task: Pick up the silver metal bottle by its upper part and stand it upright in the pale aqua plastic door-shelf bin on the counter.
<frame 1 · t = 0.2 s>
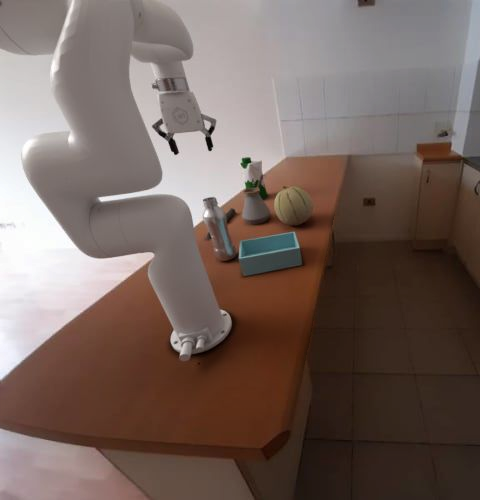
hand: (193, 152, 84), 31 cm above the worktop, tool pointing down, fingers open, 9 cm apart
shelf bin: (272, 260, 86), on the worktop
coffee pot: (261, 216, 119), on the worktop
cantaloupe: (296, 223, 110), on the worktop
silver metal bottle: (227, 258, 90), on the worktop
knife: (221, 225, 113), on the worktop
milk carton: (258, 198, 139), on the worktop
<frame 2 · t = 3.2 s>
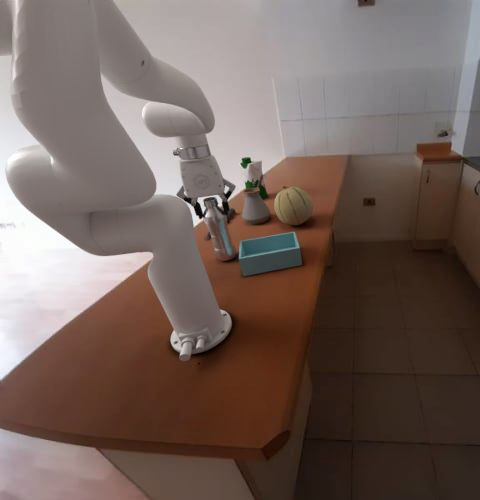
hand: (214, 214, 82), 15 cm above the worktop, tool pointing down, fingers closed on silver metal bottle, 6 cm apart
silver metal bottle: (227, 258, 90), on the worktop, touching gripper
everything else where it was.
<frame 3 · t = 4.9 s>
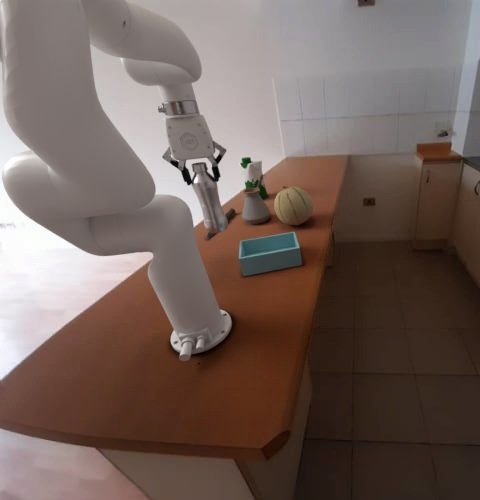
hand: (203, 181, 77), 25 cm above the worktop, tool pointing down, fingers closed on silver metal bottle, 6 cm apart
silver metal bottle: (218, 231, 84), point 10 cm above the worktop, touching gripper
everything else where it was.
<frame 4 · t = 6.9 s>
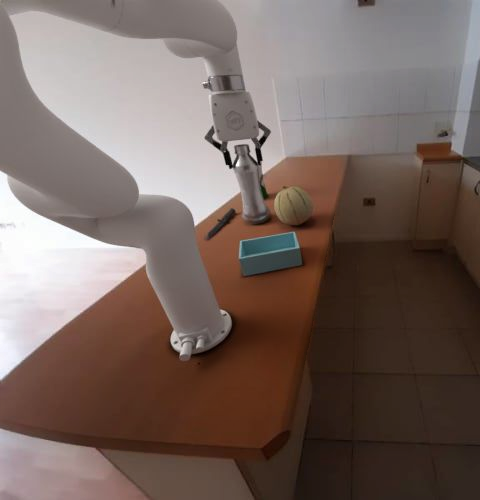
hand: (245, 165, 72), 29 cm above the worktop, tool pointing down, fingers closed on silver metal bottle, 6 cm apart
silver metal bottle: (257, 219, 80), point 14 cm above the worktop, touching gripper
everything else where it was.
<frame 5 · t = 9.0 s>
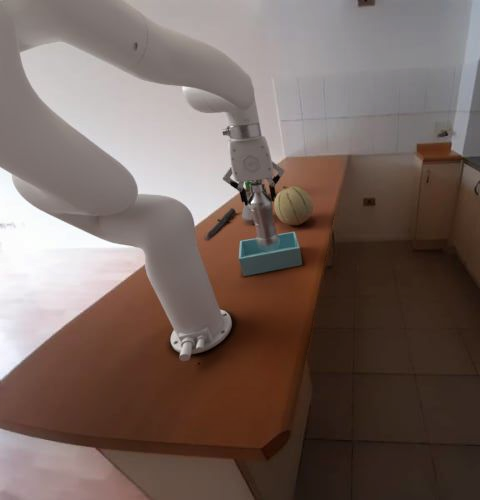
hand: (259, 201, 77), 20 cm above the worktop, tool pointing down, fingers closed on silver metal bottle, 6 cm apart
silver metal bottle: (269, 249, 84), point 4 cm above the worktop, touching gripper
everything else where it was.
when the fingers open (16 cm above the worktop, at t = 10.5 s): silver metal bottle stays where it is, resting on shelf bin.
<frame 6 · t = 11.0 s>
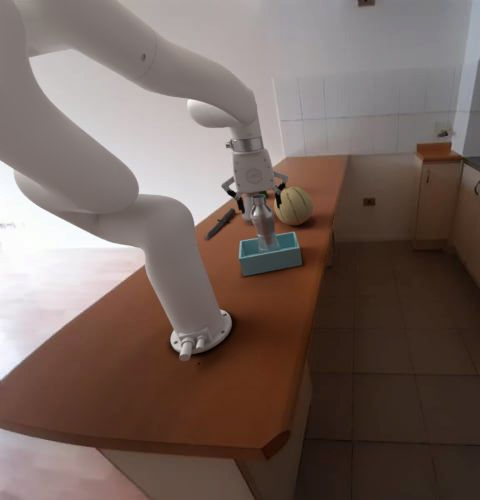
hand: (261, 209, 78), 17 cm above the worktop, tool pointing down, fingers open, 9 cm apart
silver metal bottle: (271, 258, 86), point 1 cm above the worktop, touching shelf bin
everything else where it was.
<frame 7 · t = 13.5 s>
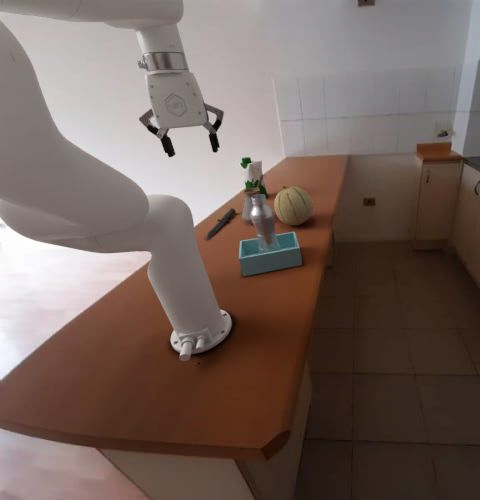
hand: (194, 153, 65), 34 cm above the worktop, tool pointing down, fingers open, 9 cm apart
nothing on the worktop moved.
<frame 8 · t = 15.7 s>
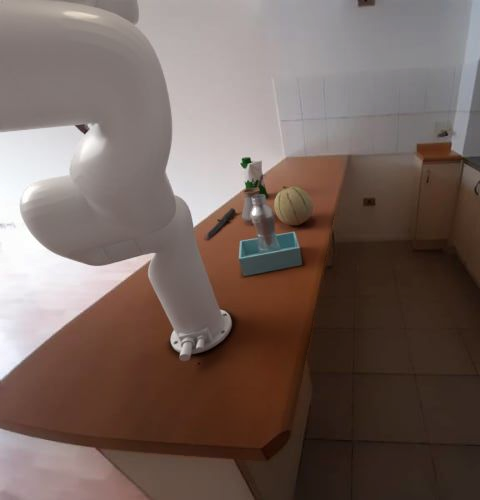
hand: (140, 160, 61), 34 cm above the worktop, tool pointing down, fingers open, 9 cm apart
nothing on the worktop moved.
at the end: silver metal bottle inside the target area in the shelf bin (0.0 cm from its centre), point 0.8 cm above the shelf bin's base; silver metal bottle tilted 0°; the gripper is holding nothing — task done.
